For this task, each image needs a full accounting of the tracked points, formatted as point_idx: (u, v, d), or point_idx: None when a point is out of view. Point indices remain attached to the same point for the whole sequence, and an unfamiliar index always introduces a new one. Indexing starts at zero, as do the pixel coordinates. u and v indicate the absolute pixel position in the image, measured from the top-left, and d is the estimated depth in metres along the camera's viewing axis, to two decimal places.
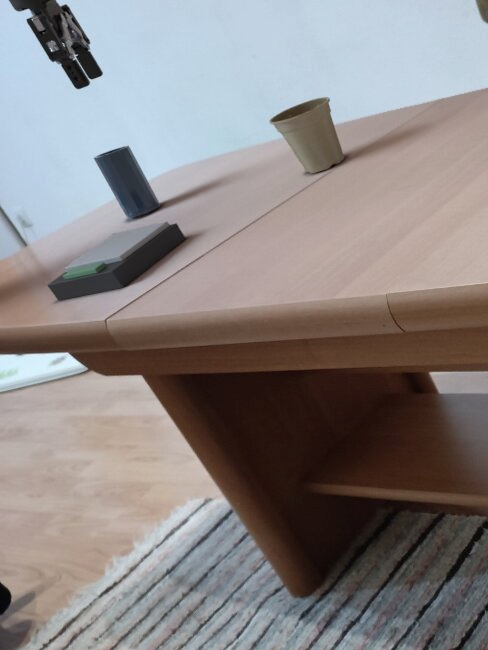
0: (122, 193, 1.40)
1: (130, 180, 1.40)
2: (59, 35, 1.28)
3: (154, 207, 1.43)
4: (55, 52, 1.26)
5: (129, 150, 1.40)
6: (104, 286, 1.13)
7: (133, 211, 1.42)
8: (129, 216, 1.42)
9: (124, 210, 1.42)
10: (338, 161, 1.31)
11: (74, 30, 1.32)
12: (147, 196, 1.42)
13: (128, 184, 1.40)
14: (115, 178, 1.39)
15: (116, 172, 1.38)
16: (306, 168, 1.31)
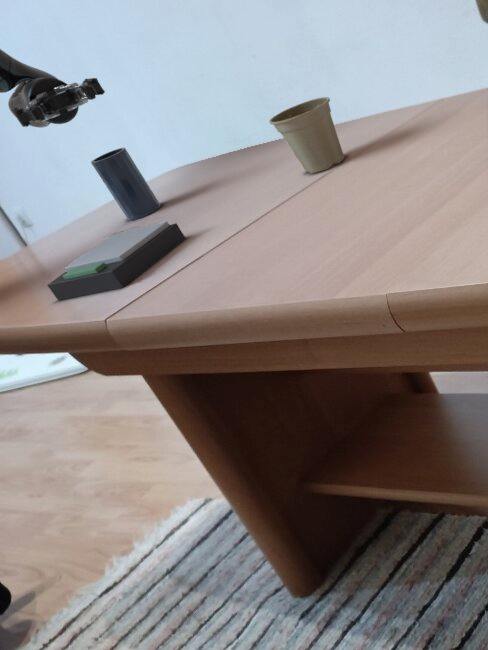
0: (122, 197, 1.40)
1: (129, 183, 1.40)
2: (75, 98, 1.49)
3: (155, 208, 1.43)
4: None
5: (126, 153, 1.39)
6: (104, 286, 1.13)
7: (134, 214, 1.42)
8: (131, 219, 1.43)
9: (125, 213, 1.42)
10: (338, 161, 1.31)
11: (52, 115, 1.47)
12: (147, 198, 1.42)
13: (128, 187, 1.40)
14: (114, 182, 1.39)
15: (115, 176, 1.38)
16: (306, 168, 1.31)
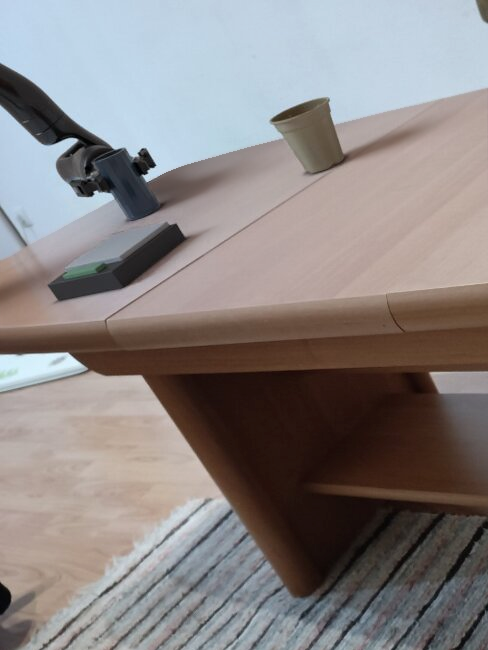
0: (122, 196, 1.40)
1: (129, 183, 1.40)
2: None
3: (155, 208, 1.43)
4: None
5: (126, 153, 1.39)
6: (104, 286, 1.13)
7: (134, 214, 1.42)
8: (131, 219, 1.43)
9: (125, 213, 1.42)
10: (338, 161, 1.31)
11: None
12: (148, 198, 1.42)
13: (128, 187, 1.40)
14: (114, 182, 1.39)
15: (115, 176, 1.38)
16: (306, 168, 1.31)
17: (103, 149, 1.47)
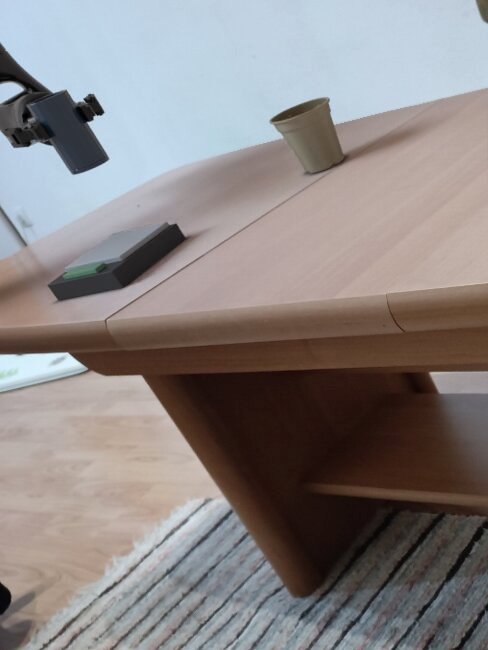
0: (63, 146, 1.21)
1: (71, 130, 1.21)
2: None
3: (102, 161, 1.24)
4: None
5: (67, 95, 1.20)
6: (104, 286, 1.13)
7: (78, 167, 1.23)
8: (74, 173, 1.24)
9: (67, 166, 1.24)
10: (338, 161, 1.31)
11: None
12: (93, 149, 1.23)
13: (70, 135, 1.21)
14: (54, 129, 1.20)
15: (55, 122, 1.19)
16: (306, 168, 1.31)
17: (44, 94, 1.28)
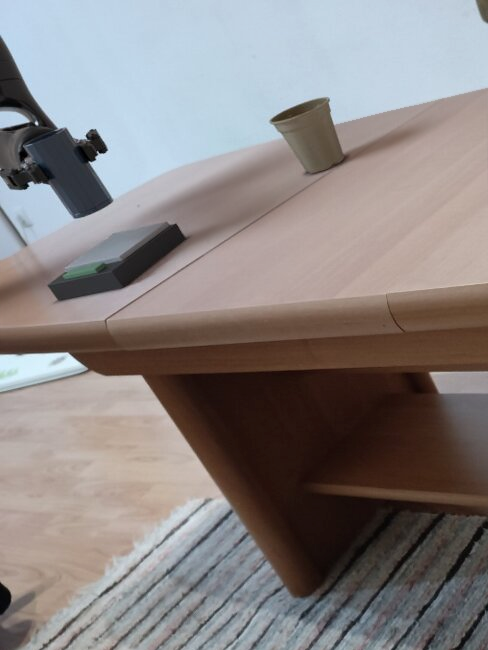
0: (64, 189, 1.12)
1: (72, 172, 1.11)
2: None
3: (106, 204, 1.15)
4: None
5: (67, 134, 1.11)
6: (104, 286, 1.13)
7: (80, 211, 1.14)
8: (75, 217, 1.14)
9: (68, 210, 1.14)
10: (338, 161, 1.31)
11: None
12: (96, 191, 1.14)
13: (70, 177, 1.11)
14: (53, 171, 1.10)
15: (54, 163, 1.10)
16: (306, 168, 1.31)
17: (42, 130, 1.18)
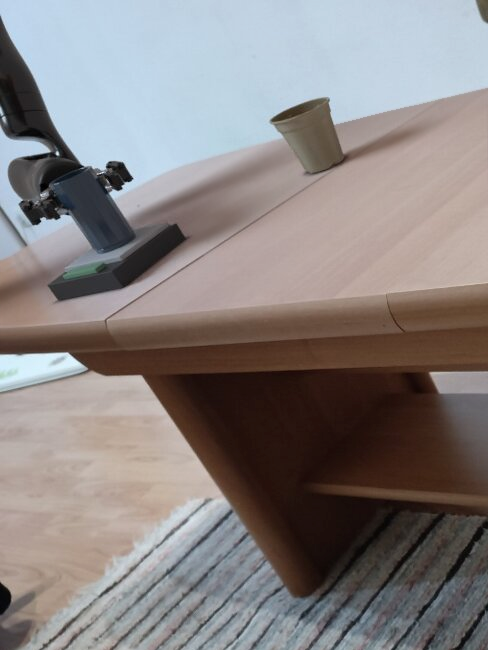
0: (88, 226, 1.15)
1: (97, 210, 1.14)
2: None
3: (129, 239, 1.18)
4: None
5: (92, 172, 1.14)
6: (104, 286, 1.13)
7: (104, 246, 1.17)
8: (99, 252, 1.17)
9: (92, 246, 1.17)
10: (338, 161, 1.31)
11: None
12: (120, 227, 1.17)
13: (95, 214, 1.14)
14: (78, 208, 1.13)
15: (79, 201, 1.13)
16: (306, 168, 1.31)
17: (63, 163, 1.21)
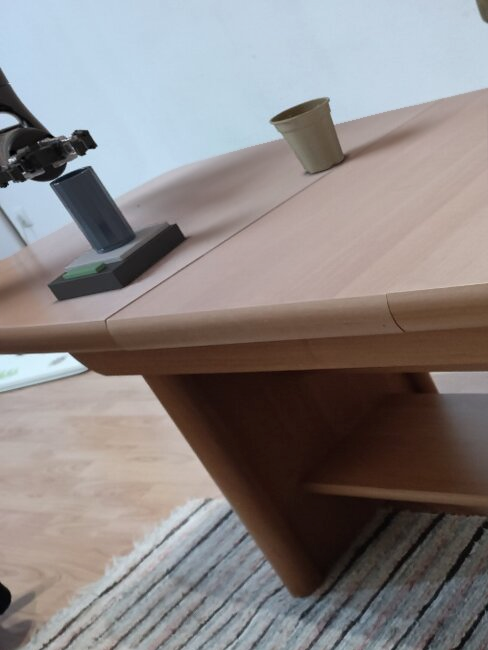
0: (88, 226, 1.15)
1: (97, 210, 1.14)
2: (63, 153, 1.27)
3: (129, 239, 1.18)
4: None
5: (92, 172, 1.14)
6: (104, 286, 1.13)
7: (104, 246, 1.17)
8: (99, 252, 1.17)
9: (92, 246, 1.17)
10: (338, 161, 1.31)
11: (35, 173, 1.26)
12: (120, 227, 1.17)
13: (95, 214, 1.14)
14: (78, 208, 1.13)
15: (79, 201, 1.13)
16: (306, 168, 1.31)
17: (31, 131, 1.28)
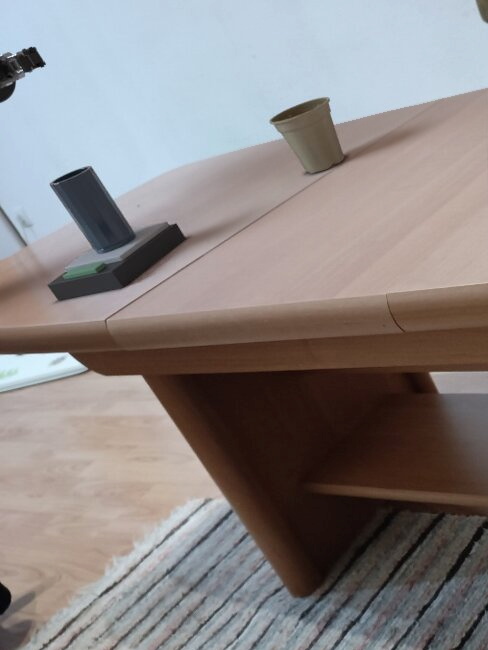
0: (88, 226, 1.15)
1: (97, 210, 1.14)
2: (10, 71, 1.21)
3: (129, 239, 1.18)
4: None
5: (92, 172, 1.14)
6: (104, 286, 1.13)
7: (104, 246, 1.17)
8: (99, 252, 1.17)
9: (92, 246, 1.17)
10: (338, 161, 1.31)
11: None
12: (120, 227, 1.17)
13: (95, 214, 1.14)
14: (78, 208, 1.13)
15: (79, 201, 1.13)
16: (306, 168, 1.31)
17: None
